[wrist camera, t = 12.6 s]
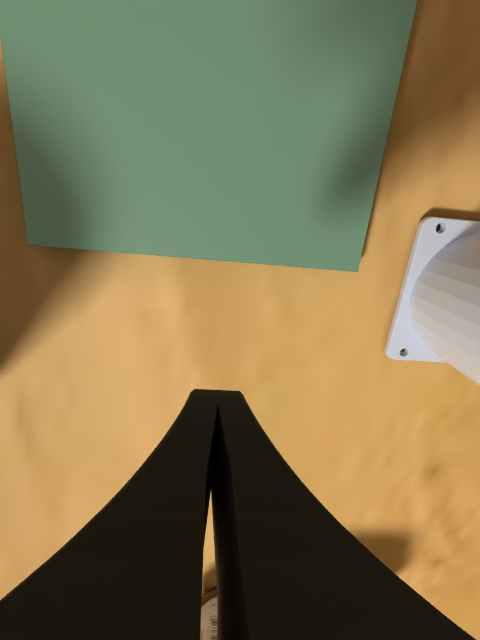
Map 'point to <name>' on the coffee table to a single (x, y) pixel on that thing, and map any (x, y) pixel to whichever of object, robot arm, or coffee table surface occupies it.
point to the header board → (203, 124)
